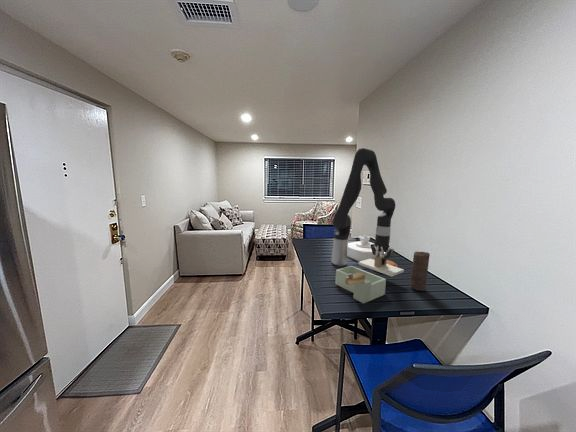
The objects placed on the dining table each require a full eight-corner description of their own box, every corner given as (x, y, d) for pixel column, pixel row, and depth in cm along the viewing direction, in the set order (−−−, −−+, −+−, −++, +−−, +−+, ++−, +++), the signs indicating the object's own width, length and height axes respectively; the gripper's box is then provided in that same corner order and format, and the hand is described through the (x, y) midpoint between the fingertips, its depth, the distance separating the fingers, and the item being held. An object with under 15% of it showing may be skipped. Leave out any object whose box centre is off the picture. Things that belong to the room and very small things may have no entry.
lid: (358, 264, 149) (358, 253, 148) (370, 260, 155) (370, 250, 154) (391, 276, 131) (392, 264, 130) (403, 272, 138) (404, 260, 137)
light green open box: (329, 285, 134) (330, 268, 132) (350, 279, 143) (351, 262, 142) (363, 303, 116) (365, 283, 115) (384, 294, 126) (386, 276, 124)
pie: (395, 266, 166) (395, 259, 165) (399, 275, 151) (399, 267, 150) (370, 263, 170) (371, 256, 169) (372, 272, 155) (372, 264, 154)
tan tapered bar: (345, 283, 113) (345, 273, 113) (359, 278, 119) (360, 269, 118) (350, 285, 111) (351, 276, 110) (364, 280, 117) (365, 271, 116)
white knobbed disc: (339, 253, 191) (340, 232, 189) (364, 249, 203) (365, 229, 200) (363, 263, 170) (365, 240, 167) (389, 258, 181) (391, 237, 179)
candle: (424, 293, 127) (429, 255, 124) (408, 290, 131) (412, 252, 128) (425, 288, 134) (430, 251, 131) (410, 284, 138) (414, 249, 134)
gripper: (398, 235, 137) (395, 266, 139) (376, 230, 148) (373, 259, 151) (390, 237, 132) (387, 268, 135) (368, 232, 143) (365, 261, 146)
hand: (380, 263), depth 143 cm, fingers closed on lid, 3 cm apart
